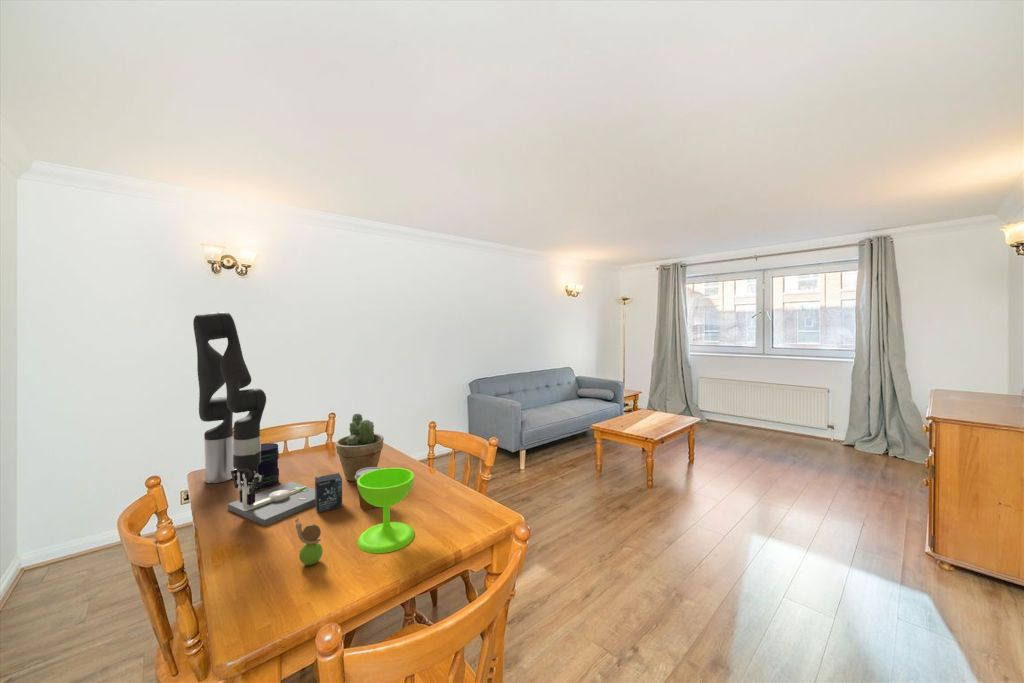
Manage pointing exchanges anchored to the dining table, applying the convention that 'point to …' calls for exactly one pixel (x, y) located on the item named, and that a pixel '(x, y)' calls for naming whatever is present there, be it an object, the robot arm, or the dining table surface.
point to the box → (328, 492)
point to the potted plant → (359, 447)
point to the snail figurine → (309, 543)
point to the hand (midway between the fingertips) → (247, 502)
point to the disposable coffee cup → (362, 502)
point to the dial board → (276, 504)
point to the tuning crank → (273, 497)
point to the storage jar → (269, 465)
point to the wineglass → (385, 508)
